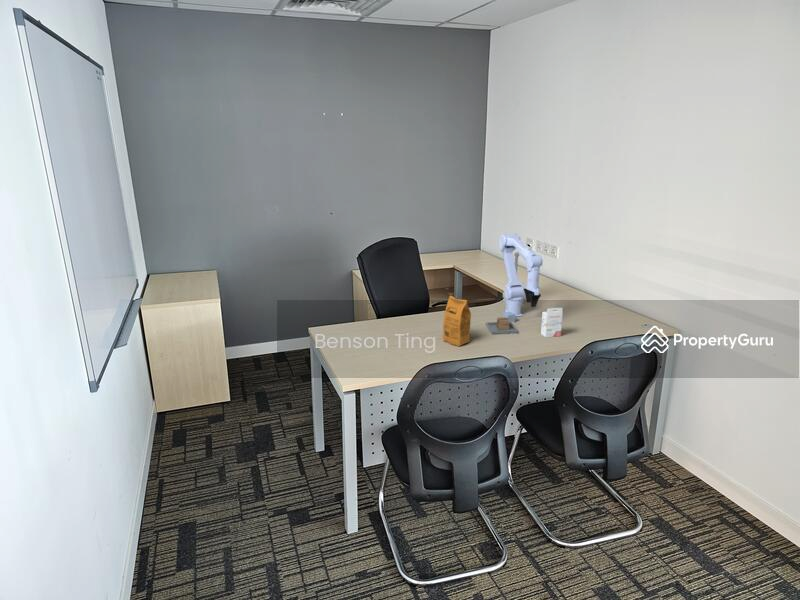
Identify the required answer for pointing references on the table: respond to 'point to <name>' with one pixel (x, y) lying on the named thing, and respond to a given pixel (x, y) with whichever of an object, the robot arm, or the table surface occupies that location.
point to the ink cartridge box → (552, 322)
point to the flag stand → (516, 272)
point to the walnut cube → (502, 323)
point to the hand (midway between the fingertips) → (531, 304)
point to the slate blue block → (509, 316)
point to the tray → (494, 330)
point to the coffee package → (456, 322)
